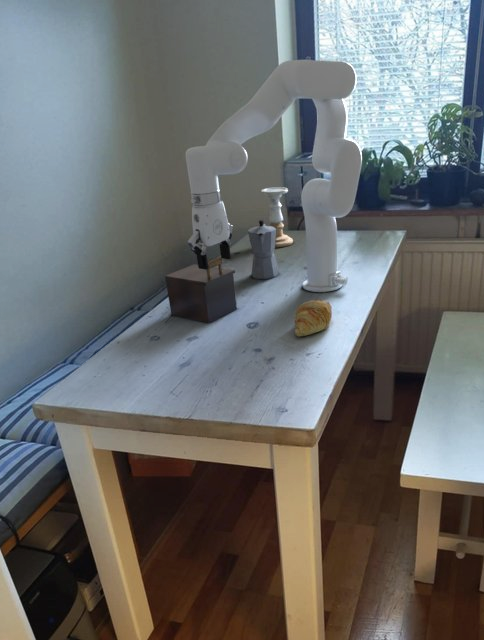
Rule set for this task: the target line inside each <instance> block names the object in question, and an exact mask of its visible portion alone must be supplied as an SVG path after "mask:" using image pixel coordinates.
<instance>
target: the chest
mask: <svg viewBox="0 0 484 640" xmlns="http://www.w3.org/2000/svg"><path fill="white" fill-rule="evenodd" d="M234 278H235V277H234V273H233V274H231V275H229V276H227V277H224V278H222V279H220V280H218V281H215V282H213V283H211V284H208V285H201V284H195V283H189V282H183V281H177V280H171V279H165V285H166V290H167V296H168V303H169V309H170V315H171V316H174V317H179V318H184V319H189V320H193V321H199V322H203V323H207V324H210V323H212V322H214V321H216V320H218V319H220V318H222V317H224V316H226V315H228V314H230V313H232V312H235V310H237V309H238V308H237V297H236V287H235V279H234Z"/></svg>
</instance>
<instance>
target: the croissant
mask: <svg viewBox="0 0 484 640" xmlns="http://www.w3.org/2000/svg"><path fill="white" fill-rule="evenodd" d="M332 311H333V310H332V305H331V304H330V302H328V301H323V300H322V299H313V300H312V299H311V300H308V301H305V302H303V303H302V304H300V305H299V306H298V307H297V308H296V310H295V312H294V328H295V329H294V335H295V336H297V337H306V336H310V335H313V334H315V333H318V332H321V331H323V330H326V329H328V327H329V325H330V323H331V320H332V315H333V312H332Z"/></svg>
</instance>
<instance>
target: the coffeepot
mask: <svg viewBox="0 0 484 640" xmlns="http://www.w3.org/2000/svg"><path fill="white" fill-rule="evenodd" d="M258 223H259V226H255V227H251V228H250V229H248V230H247V235H248V238H249V242H250V248H251V251H252V252H253V256H252V264H251V265H252V267H251V276H252V277H253V278H254V279H257V280H268V279H272V278H275V277H277V276H278V275H279V269H278V264H277V260H276V256H275V254H274V253H275V252H274V251H275V248H276V247H275V237H276V229H275V228H274V227H270V226H269V225H267V224H266V223H265V221H264V220H263V219H260V220H258Z"/></svg>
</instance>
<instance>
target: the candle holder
mask: <svg viewBox="0 0 484 640" xmlns="http://www.w3.org/2000/svg"><path fill="white" fill-rule="evenodd" d="M288 192H289V188H288V187H283V186H274V187H267V188H263V189H261V190H260V193H261V195H264V196H267V197H268V199H269V200H270V203H269V204H268V208H269V209H270V212H269V217H268V221H269V222H270V224H269V225H268V226H270V227H274V228H275V229H276V237H275V248H285V247H288V246H291V245H292V244H293V243H294V240H293V238H292V237H290V236H288V235H287V234H284V233H283V232H284V231H283V229H284V227H285V224H284V223H283V221H284V217H283V214H282V210H281V208H282V206H283V205H282V203H281V201H280V199H281V198H282V196H283V195H284V194H287V193H288Z"/></svg>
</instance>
